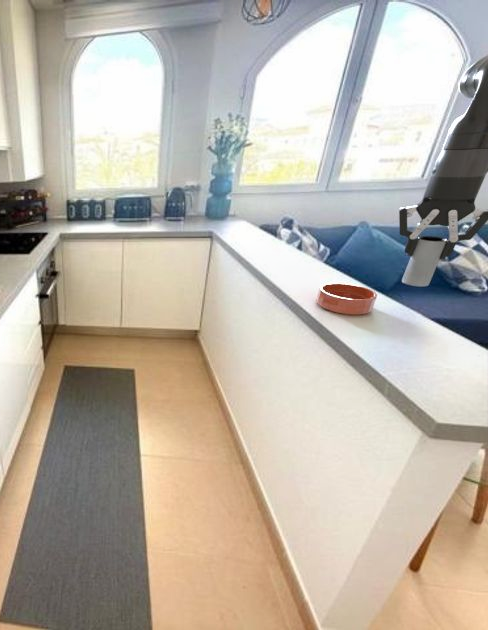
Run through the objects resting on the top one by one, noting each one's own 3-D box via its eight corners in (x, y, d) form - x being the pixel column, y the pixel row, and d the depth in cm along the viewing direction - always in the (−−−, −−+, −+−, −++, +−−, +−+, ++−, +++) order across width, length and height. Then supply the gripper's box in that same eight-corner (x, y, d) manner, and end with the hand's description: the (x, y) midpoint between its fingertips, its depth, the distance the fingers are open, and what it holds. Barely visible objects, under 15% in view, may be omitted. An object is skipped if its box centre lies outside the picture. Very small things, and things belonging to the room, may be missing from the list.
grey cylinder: (403, 285, 78) (420, 240, 73) (399, 278, 81) (416, 235, 77) (430, 288, 75) (450, 241, 71) (426, 281, 79) (444, 236, 74)
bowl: (373, 303, 103) (378, 288, 100) (368, 320, 94) (374, 303, 92) (320, 294, 111) (324, 280, 109) (312, 309, 102) (316, 293, 100)
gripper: (509, 171, 66) (470, 256, 74) (409, 172, 75) (383, 248, 82) (517, 175, 61) (475, 266, 69) (409, 175, 70) (381, 256, 78)
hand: (425, 256), depth 76 cm, fingers closed on grey cylinder, 4 cm apart
